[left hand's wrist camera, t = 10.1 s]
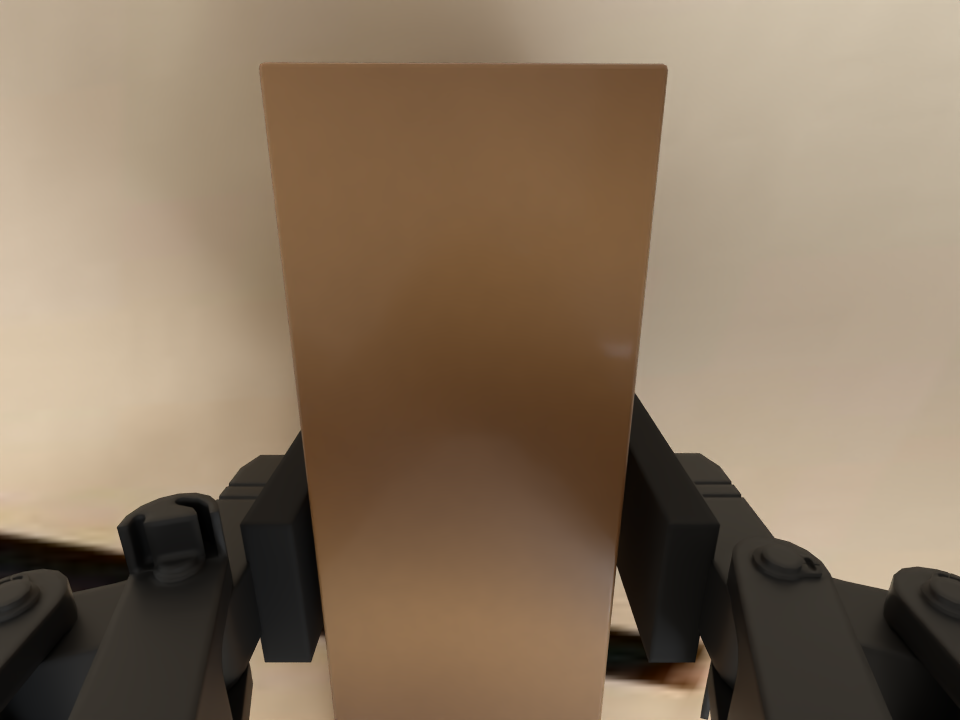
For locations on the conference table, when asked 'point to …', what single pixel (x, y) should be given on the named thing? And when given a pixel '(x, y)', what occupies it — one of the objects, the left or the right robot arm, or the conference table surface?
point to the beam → (465, 368)
